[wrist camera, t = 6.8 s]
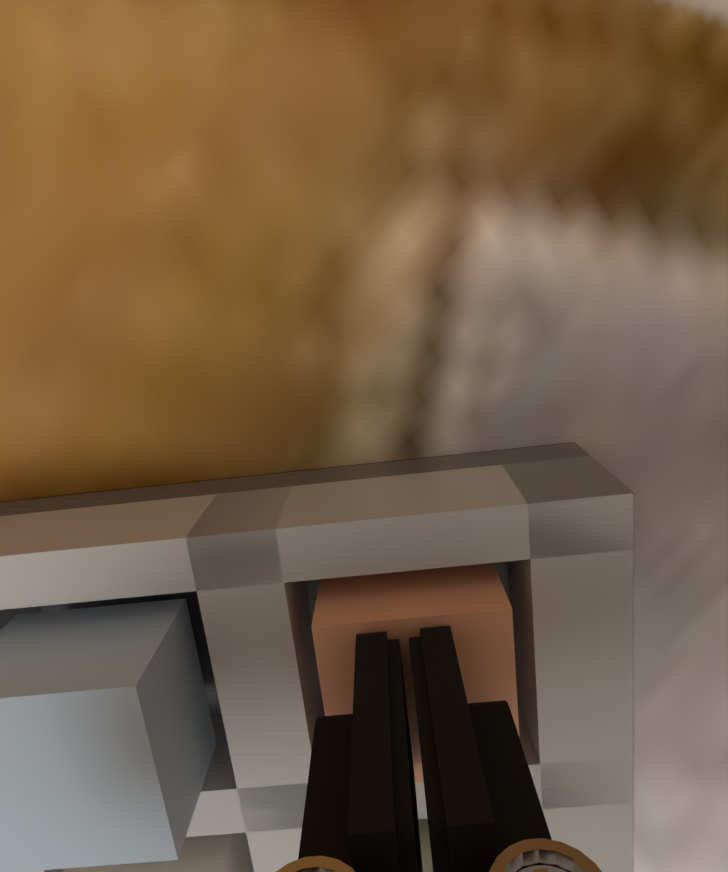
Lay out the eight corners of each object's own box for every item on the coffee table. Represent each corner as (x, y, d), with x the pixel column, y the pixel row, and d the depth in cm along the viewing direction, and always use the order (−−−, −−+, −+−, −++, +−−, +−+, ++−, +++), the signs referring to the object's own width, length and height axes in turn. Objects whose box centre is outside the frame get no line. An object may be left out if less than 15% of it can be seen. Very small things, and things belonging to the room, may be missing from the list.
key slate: (186, 598, 12) (135, 686, 9) (216, 743, 13) (178, 859, 10) (16, 614, 12) (-78, 704, 9) (58, 757, 13) (-19, 874, 10)
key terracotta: (484, 541, 13) (511, 608, 10) (494, 681, 14) (521, 774, 11) (323, 557, 13) (311, 627, 10) (343, 694, 14) (336, 789, 11)
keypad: (574, 442, 13) (633, 493, 10) (585, 864, 17) (633, 1000, 13) (-36, 505, 14) (-151, 571, 11) (83, 901, 17) (20, 1039, 14)
